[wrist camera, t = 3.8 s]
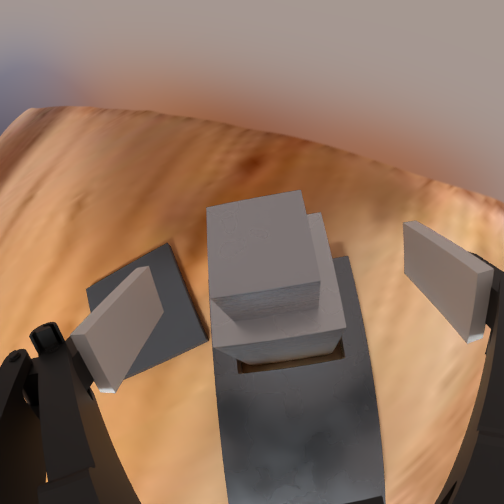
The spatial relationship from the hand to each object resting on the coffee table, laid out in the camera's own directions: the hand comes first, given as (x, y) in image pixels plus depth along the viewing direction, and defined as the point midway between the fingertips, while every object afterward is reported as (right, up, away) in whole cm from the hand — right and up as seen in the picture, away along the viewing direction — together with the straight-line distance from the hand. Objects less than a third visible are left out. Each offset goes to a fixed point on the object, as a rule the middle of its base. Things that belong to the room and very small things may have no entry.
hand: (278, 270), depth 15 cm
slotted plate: (+1, -8, +2) cm, 8 cm away
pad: (-9, -4, +6) cm, 12 cm away
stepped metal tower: (+1, -4, +4) cm, 6 cm away
